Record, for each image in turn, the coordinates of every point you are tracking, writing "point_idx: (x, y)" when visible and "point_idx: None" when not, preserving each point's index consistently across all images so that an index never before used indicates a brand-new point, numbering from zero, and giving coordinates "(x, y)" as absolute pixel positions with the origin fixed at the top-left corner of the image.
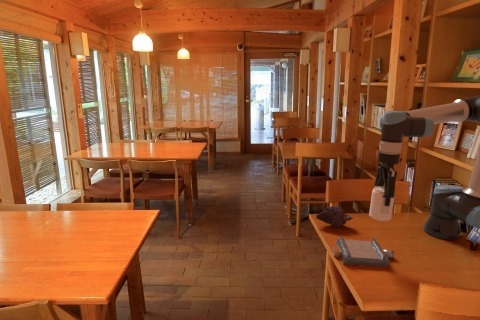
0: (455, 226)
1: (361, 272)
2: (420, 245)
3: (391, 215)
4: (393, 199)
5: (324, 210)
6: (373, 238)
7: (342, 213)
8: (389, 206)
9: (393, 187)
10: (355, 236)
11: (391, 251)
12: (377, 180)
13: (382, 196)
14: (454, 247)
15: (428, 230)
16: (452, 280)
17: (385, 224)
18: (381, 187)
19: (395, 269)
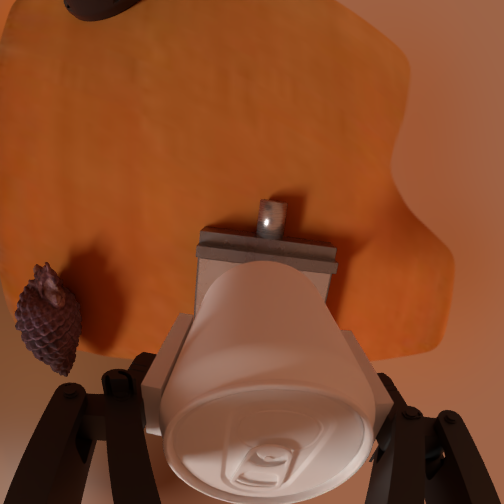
0: None
1: (348, 328)
2: (185, 61)
3: (303, 278)
4: (347, 347)
5: (47, 364)
6: (199, 251)
7: (48, 313)
8: (365, 359)
9: (480, 482)
10: (124, 266)
11: (278, 211)
12: (83, 471)
13: (372, 458)
14: None
15: (108, 10)
16: (395, 94)
17: (41, 126)
18: (184, 446)
19: (343, 226)
